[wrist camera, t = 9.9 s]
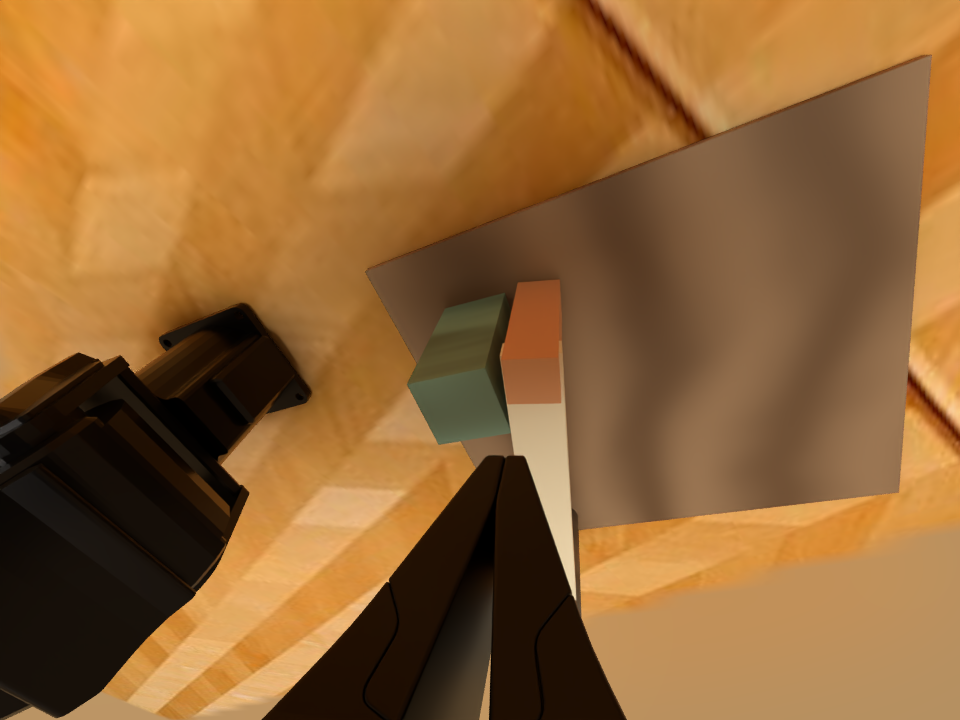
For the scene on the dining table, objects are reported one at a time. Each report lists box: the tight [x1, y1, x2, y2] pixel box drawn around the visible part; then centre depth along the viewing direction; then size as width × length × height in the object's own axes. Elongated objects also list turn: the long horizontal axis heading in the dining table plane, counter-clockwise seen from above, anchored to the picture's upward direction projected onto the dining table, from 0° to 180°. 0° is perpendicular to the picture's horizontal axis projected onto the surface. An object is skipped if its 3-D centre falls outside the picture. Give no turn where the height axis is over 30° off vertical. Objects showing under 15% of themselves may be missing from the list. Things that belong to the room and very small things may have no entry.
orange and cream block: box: [500, 279, 576, 600], centre depth 20 cm, size 14×2×6 cm, turn 8°
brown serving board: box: [365, 55, 932, 616], centre depth 18 cm, size 21×20×9 cm
